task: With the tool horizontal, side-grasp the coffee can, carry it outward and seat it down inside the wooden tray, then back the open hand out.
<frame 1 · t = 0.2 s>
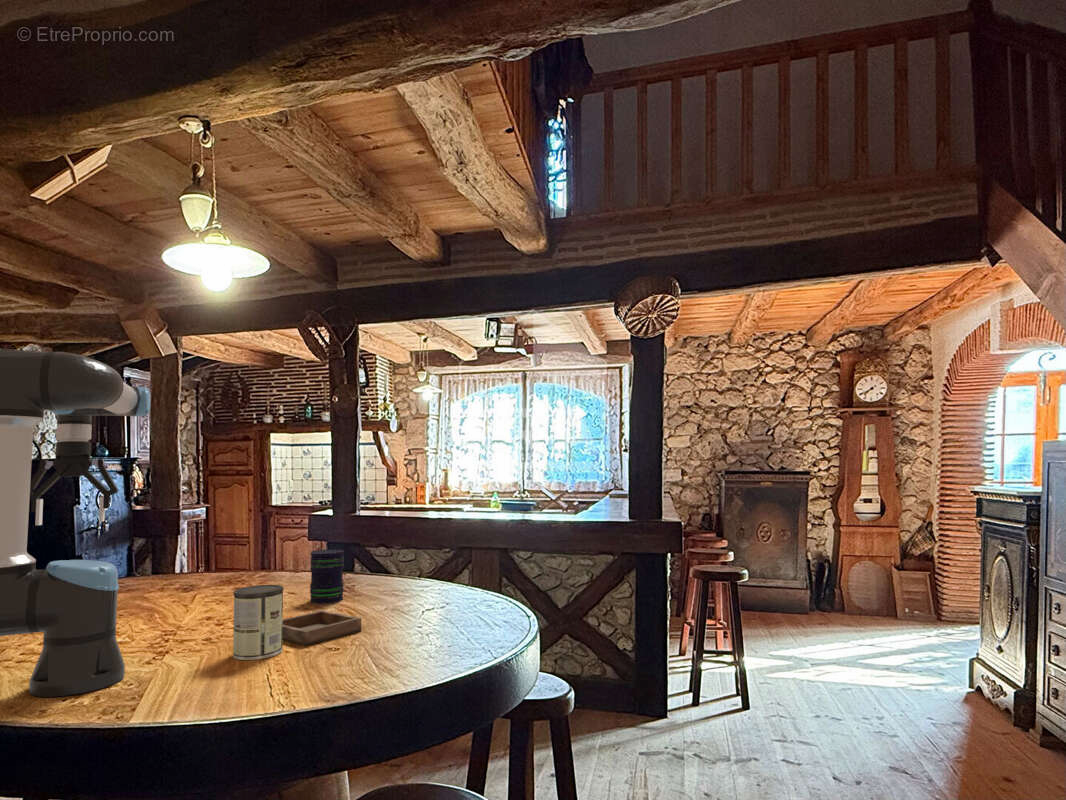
hand: (70, 523, 168), 28 cm above the table, tool pointing down, fingers open, 13 cm apart
dark barrel: (326, 601, 199), on the table
coffee can: (257, 654, 144), on the table
wooden tray: (314, 633, 160), on the table
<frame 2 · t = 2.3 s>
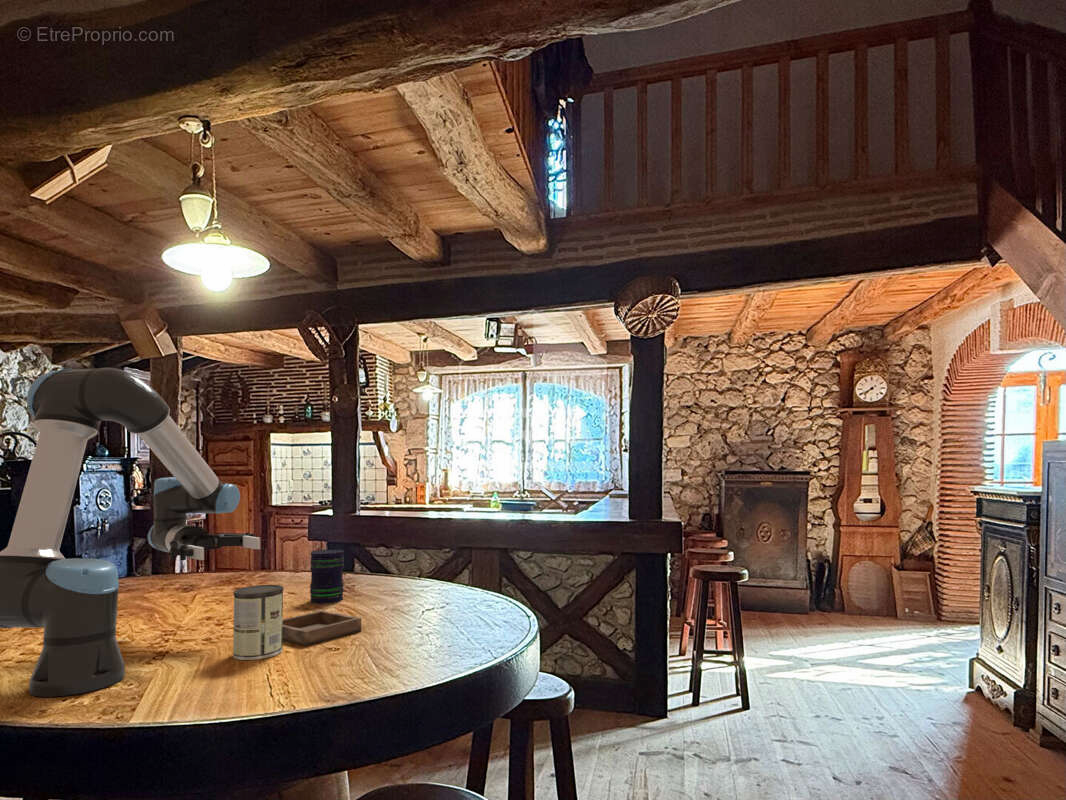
hand: (231, 548, 152), 22 cm above the table, tool horizontal, fingers open, 13 cm apart
nothing on the table moved.
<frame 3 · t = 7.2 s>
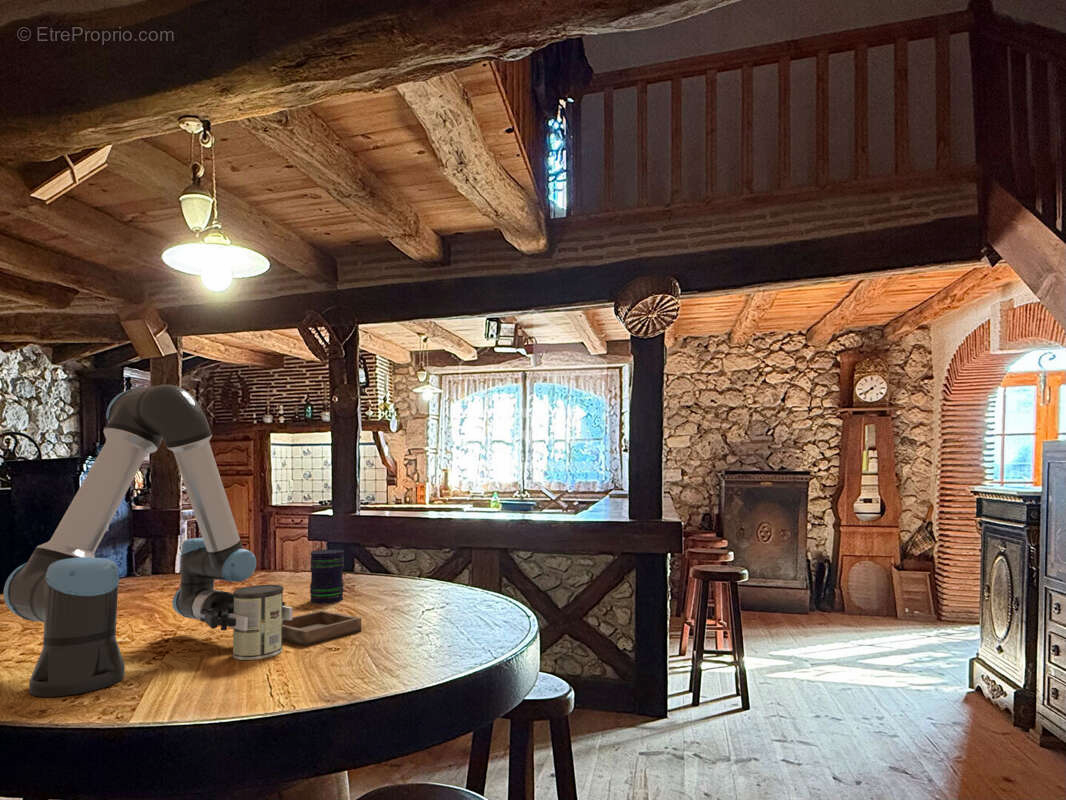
hand: (269, 618, 142), 8 cm above the table, tool horizontal, fingers closed on coffee can, 10 cm apart
coffee can: (257, 654, 144), on the table, touching gripper
everything else where it was.
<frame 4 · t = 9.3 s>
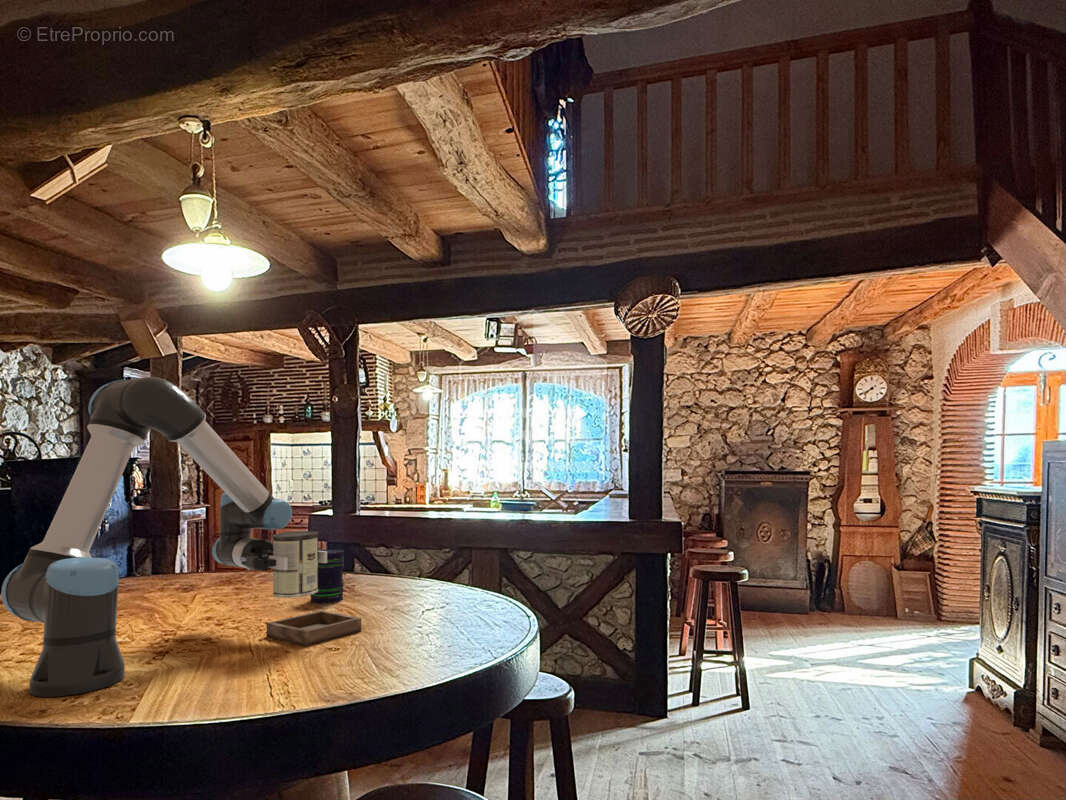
hand: (306, 560, 153), 19 cm above the table, tool horizontal, fingers closed on coffee can, 10 cm apart
coffee can: (295, 594, 154), point 11 cm above the table, touching gripper
everything else where it was.
when the fingers open (9 cm above the table, at t = 11.9 s): coffee can stays where it is, resting on wooden tray.
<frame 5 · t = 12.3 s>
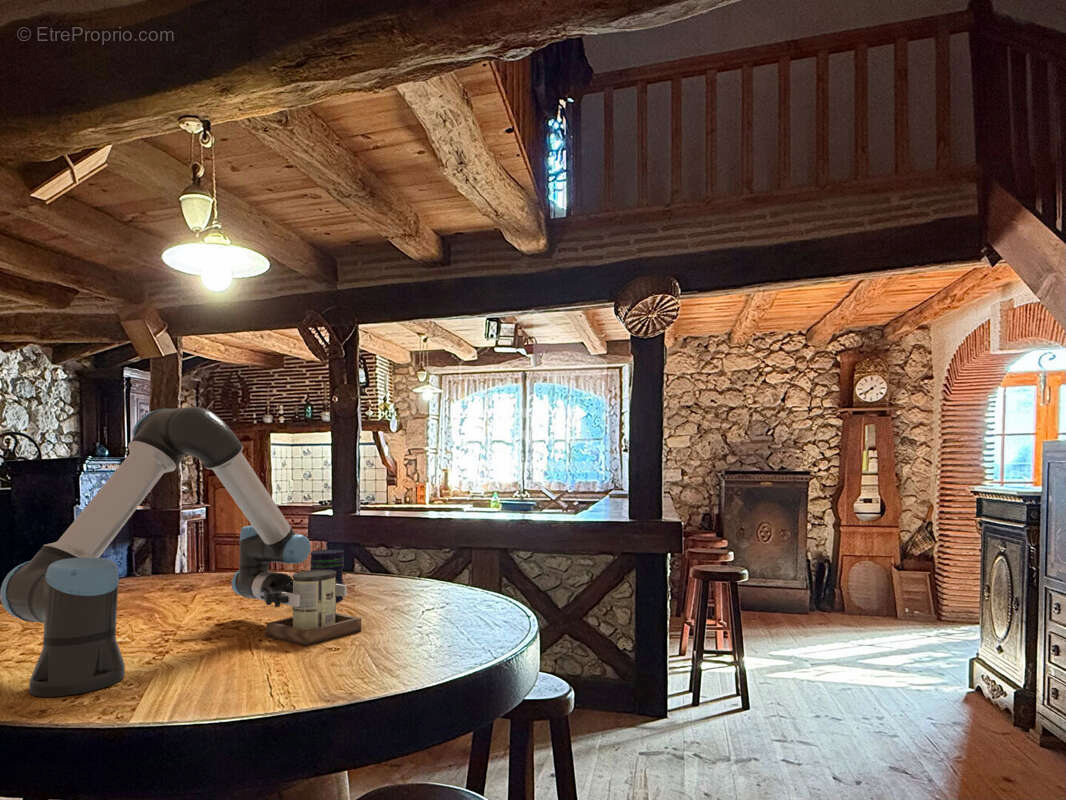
hand: (323, 595, 159), 9 cm above the table, tool horizontal, fingers open, 13 cm apart
coffee can: (313, 632, 160), resting on wooden tray
everything else where it was.
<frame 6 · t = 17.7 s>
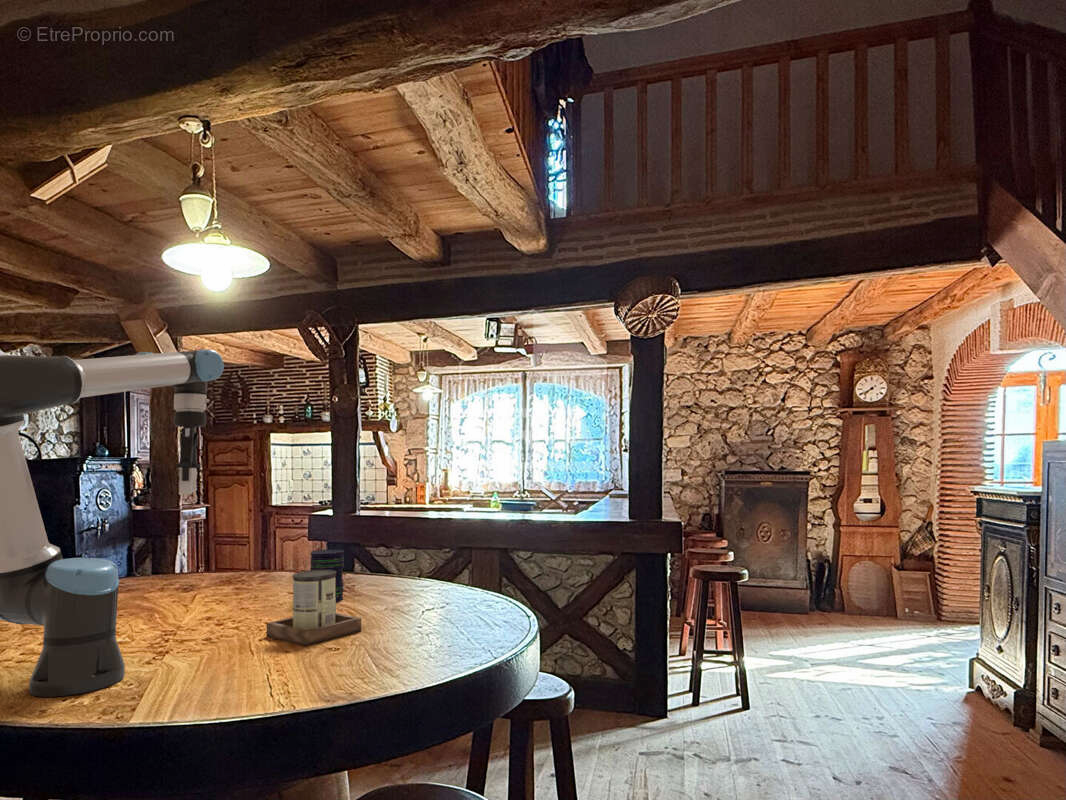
hand: (187, 493, 167), 35 cm above the table, tool pointing down, fingers open, 13 cm apart
nothing on the table moved.
at the end: coffee can inside the target area on the wooden tray (0.1 cm from its centre), point 0.4 cm above the wooden tray's base; coffee can tilted 0°; the gripper is holding nothing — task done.
